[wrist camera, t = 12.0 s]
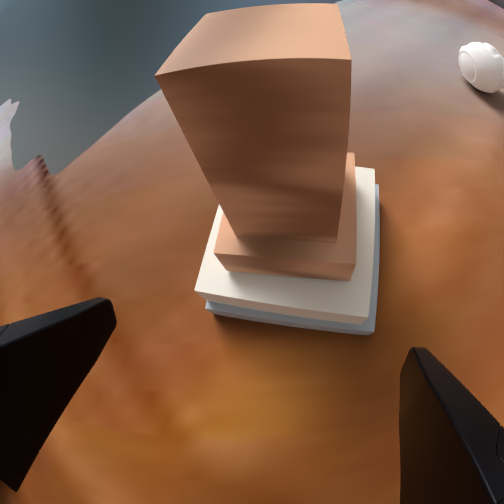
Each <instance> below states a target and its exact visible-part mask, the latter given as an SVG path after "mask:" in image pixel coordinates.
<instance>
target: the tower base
mask: <svg viewBox="0 0 504 504" xmlns="http://www.w3.org/2000/svg"><path fill="white" fill-rule="evenodd" d="M379 248H380V215H379V185H378V184H375V234H374V257H373V273H372V286H371V297H370V307H369V316H368V318H367V319H366V320H365V321H364V322H363V323H362V324H361V325H357V324H349V323H341V322H333V321H326V320H319V319H311V318H305V317H298V316H291V315H285V314H278V313H272V312H266V311H260V310H254V309H249V308H243V307H237V306H232V305H227V304H221V303H216V302H211V301H207V303H206V307H205V309H207V310H208V311H210V312H211V313H213V314H216V315H222V316H227V317H233V318H239V319H245V320H251V321H257V322H263V323H270V324H276V325H283V326H290V327H298V328H305V329H313V330H321V331H329V332H338V333H348V334H357V335H368V336H369V335H370V334H372V333H373V332H374V330H375V320H376V309H377V295H378V278H379Z"/></svg>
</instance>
